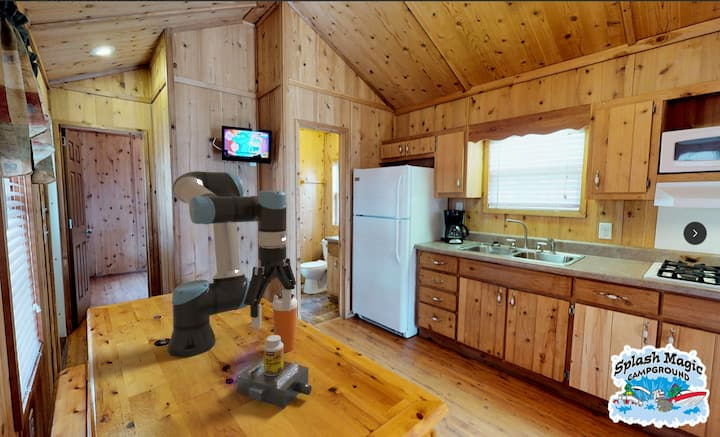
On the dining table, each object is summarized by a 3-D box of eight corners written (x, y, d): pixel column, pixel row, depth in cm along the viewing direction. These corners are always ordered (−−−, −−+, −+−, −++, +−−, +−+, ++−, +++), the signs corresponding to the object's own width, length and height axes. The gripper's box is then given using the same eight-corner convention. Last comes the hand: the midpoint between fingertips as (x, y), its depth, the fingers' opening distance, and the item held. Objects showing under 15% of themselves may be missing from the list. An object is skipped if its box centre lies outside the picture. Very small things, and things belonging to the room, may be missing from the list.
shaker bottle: (291, 355, 110) (291, 299, 108) (267, 352, 112) (267, 297, 110) (301, 343, 119) (301, 291, 117) (279, 340, 121) (278, 289, 119)
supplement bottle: (262, 378, 88) (262, 343, 87) (264, 367, 94) (264, 334, 93) (283, 376, 89) (283, 341, 89) (283, 365, 95) (283, 332, 94)
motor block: (231, 397, 88) (231, 375, 87) (264, 370, 100) (264, 351, 100) (292, 418, 80) (292, 393, 80) (320, 386, 93) (320, 365, 92)
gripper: (252, 255, 76) (253, 339, 78) (307, 240, 99) (306, 305, 101) (228, 252, 79) (229, 333, 81) (287, 238, 102) (287, 302, 104)
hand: (272, 318), depth 91 cm, fingers open, 13 cm apart
